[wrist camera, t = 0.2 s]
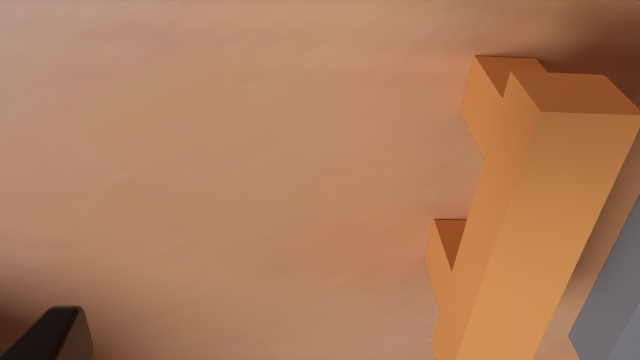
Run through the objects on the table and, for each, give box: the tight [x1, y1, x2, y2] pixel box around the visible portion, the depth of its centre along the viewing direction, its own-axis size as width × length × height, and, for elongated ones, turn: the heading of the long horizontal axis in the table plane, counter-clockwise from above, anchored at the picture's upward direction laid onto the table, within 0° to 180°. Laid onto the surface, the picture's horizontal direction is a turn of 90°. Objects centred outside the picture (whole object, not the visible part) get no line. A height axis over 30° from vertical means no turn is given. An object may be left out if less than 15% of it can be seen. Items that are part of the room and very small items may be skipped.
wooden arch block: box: [425, 56, 640, 360], centre depth 22 cm, size 13×3×6 cm, turn 176°
